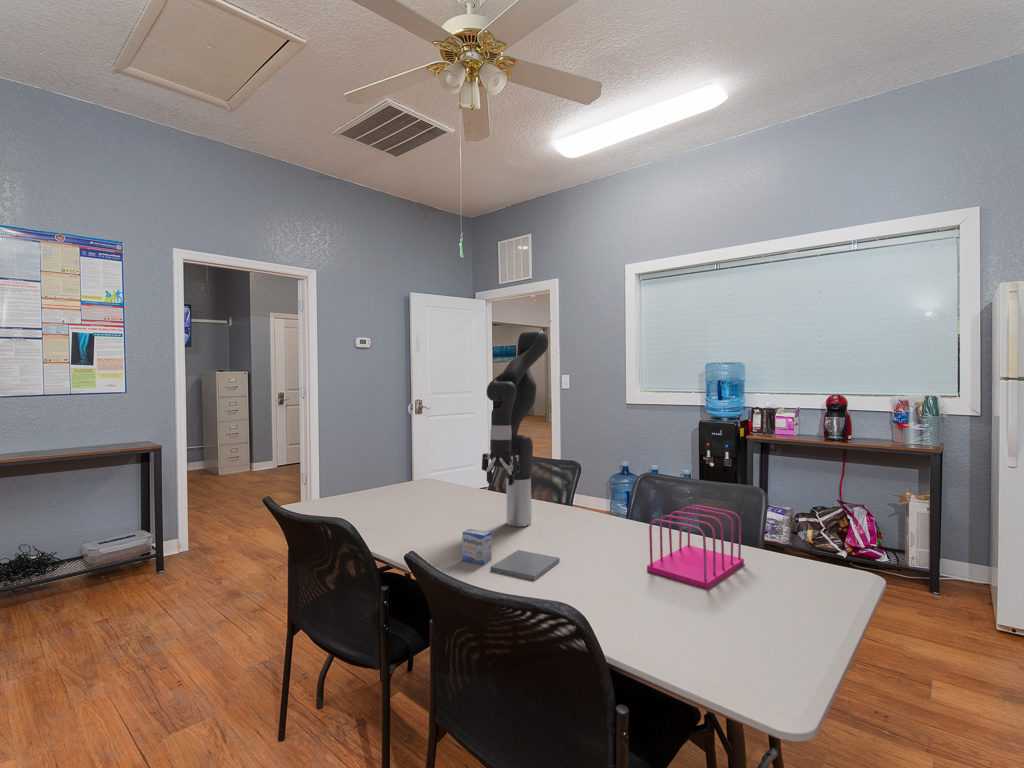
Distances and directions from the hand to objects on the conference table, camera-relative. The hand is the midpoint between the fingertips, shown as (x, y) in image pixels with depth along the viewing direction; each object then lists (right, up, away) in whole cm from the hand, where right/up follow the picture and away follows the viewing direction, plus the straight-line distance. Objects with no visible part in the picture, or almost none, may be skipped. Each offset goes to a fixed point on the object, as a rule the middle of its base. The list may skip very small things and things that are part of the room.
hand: (500, 484), depth 177 cm
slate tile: (+8, -17, -32) cm, 37 cm away
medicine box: (-6, -18, -27) cm, 33 cm away
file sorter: (+57, -18, -33) cm, 68 cm away
